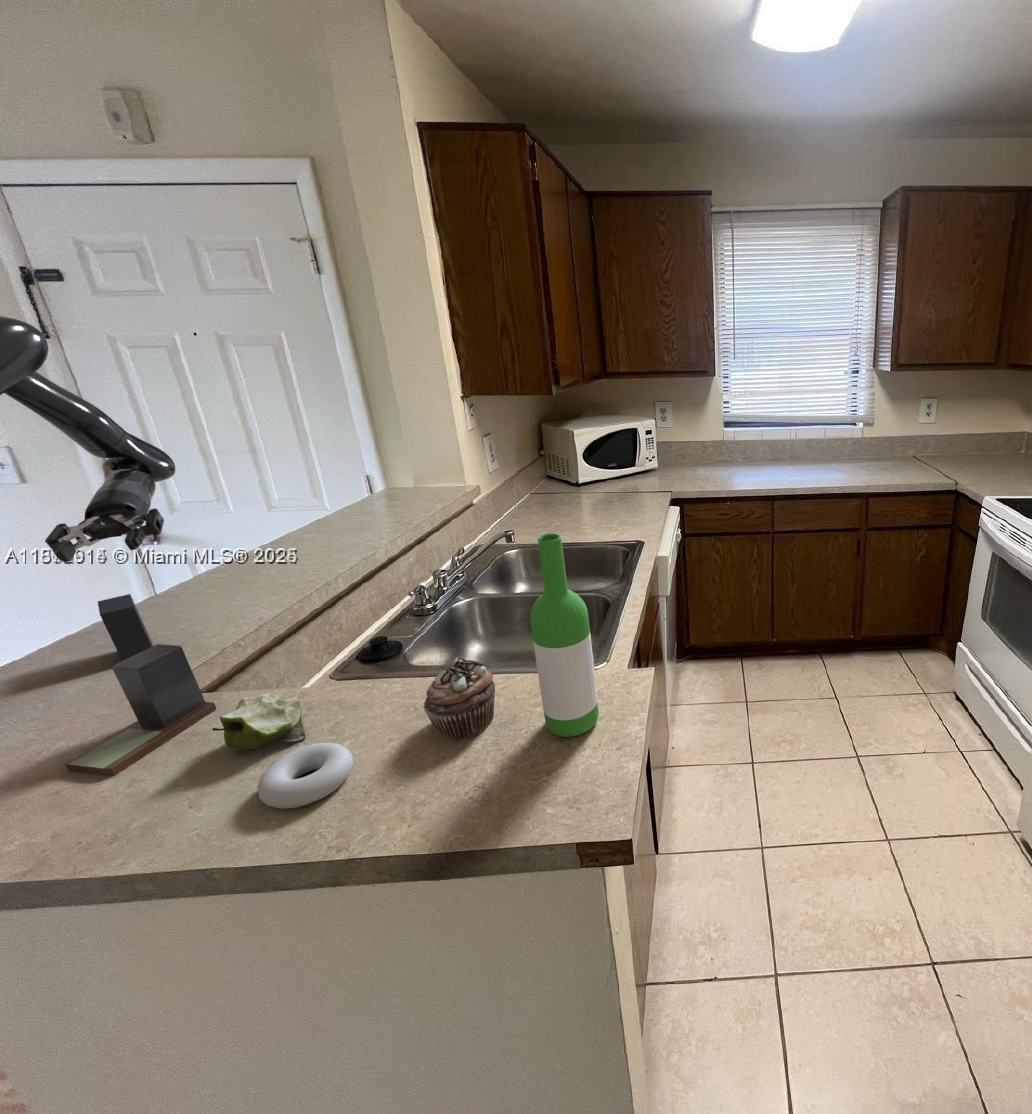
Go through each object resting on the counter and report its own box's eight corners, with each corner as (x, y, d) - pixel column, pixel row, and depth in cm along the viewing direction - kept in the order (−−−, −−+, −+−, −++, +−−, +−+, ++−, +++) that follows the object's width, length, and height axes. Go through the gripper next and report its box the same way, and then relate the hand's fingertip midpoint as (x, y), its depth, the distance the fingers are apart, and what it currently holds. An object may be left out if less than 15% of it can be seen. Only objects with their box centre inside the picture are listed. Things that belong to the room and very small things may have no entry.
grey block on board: (66, 771, 75) (26, 702, 71) (176, 705, 88) (148, 643, 84) (113, 776, 74) (75, 706, 70) (217, 709, 87) (190, 646, 83)
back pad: (121, 650, 102) (97, 601, 98) (152, 642, 105) (130, 593, 101) (124, 665, 98) (99, 614, 94) (156, 656, 100) (133, 606, 96)
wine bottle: (543, 743, 81) (513, 550, 69) (548, 710, 88) (522, 528, 76) (598, 736, 83) (578, 545, 71) (600, 704, 90) (581, 525, 78)
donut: (243, 802, 71) (297, 824, 68) (233, 781, 70) (289, 802, 66) (322, 750, 80) (374, 767, 76) (315, 730, 78) (367, 747, 75)
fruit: (245, 777, 76) (209, 733, 73) (235, 749, 82) (201, 707, 79) (321, 733, 82) (291, 691, 78) (306, 709, 88) (277, 669, 84)
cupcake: (458, 698, 90) (446, 645, 86) (513, 707, 89) (503, 652, 85) (414, 738, 82) (399, 680, 78) (474, 749, 80) (461, 690, 76)
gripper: (56, 496, 103) (23, 544, 92) (158, 481, 109) (139, 524, 98) (82, 530, 107) (54, 579, 97) (179, 514, 114) (163, 558, 103)
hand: (97, 551), depth 97 cm, fingers open, 8 cm apart
